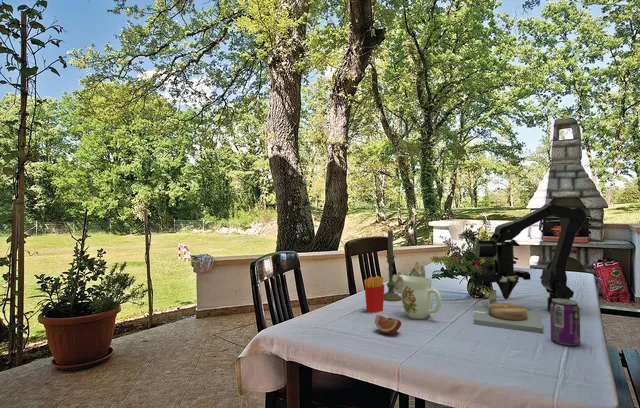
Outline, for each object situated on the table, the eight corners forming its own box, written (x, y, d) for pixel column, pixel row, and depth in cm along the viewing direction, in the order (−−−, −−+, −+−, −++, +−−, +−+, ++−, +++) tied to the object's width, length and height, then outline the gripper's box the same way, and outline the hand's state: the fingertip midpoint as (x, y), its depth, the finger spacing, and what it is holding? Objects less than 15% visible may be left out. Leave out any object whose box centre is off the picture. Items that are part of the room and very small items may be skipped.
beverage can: (585, 348, 100) (584, 304, 100) (557, 346, 102) (556, 303, 102) (573, 338, 107) (572, 298, 107) (546, 337, 109) (546, 297, 109)
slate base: (539, 316, 130) (539, 311, 130) (543, 333, 112) (543, 328, 112) (475, 308, 140) (475, 304, 140) (470, 323, 122) (470, 318, 122)
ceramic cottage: (433, 289, 173) (431, 258, 174) (418, 297, 161) (415, 263, 161) (404, 287, 183) (401, 257, 184) (388, 294, 171) (385, 262, 171)
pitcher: (430, 326, 119) (430, 284, 120) (390, 313, 134) (389, 276, 134) (450, 320, 126) (450, 280, 126) (409, 308, 140) (409, 273, 141)
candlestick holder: (404, 297, 158) (404, 229, 158) (397, 302, 150) (396, 230, 151) (385, 295, 163) (384, 228, 163) (376, 299, 155) (376, 229, 155)
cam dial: (535, 319, 120) (534, 301, 120) (499, 320, 119) (499, 301, 119) (506, 305, 137) (506, 289, 137) (475, 306, 137) (475, 289, 137)
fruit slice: (371, 332, 114) (370, 316, 114) (383, 327, 119) (383, 312, 119) (393, 338, 108) (393, 322, 109) (405, 333, 113) (405, 317, 113)
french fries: (378, 307, 142) (378, 274, 143) (387, 309, 139) (386, 276, 139) (361, 311, 137) (361, 277, 137) (369, 314, 133) (369, 279, 134)
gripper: (508, 254, 148) (508, 292, 148) (470, 256, 143) (470, 295, 142) (531, 257, 137) (531, 298, 137) (491, 260, 132) (491, 302, 132)
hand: (505, 298), depth 137 cm, fingers closed
